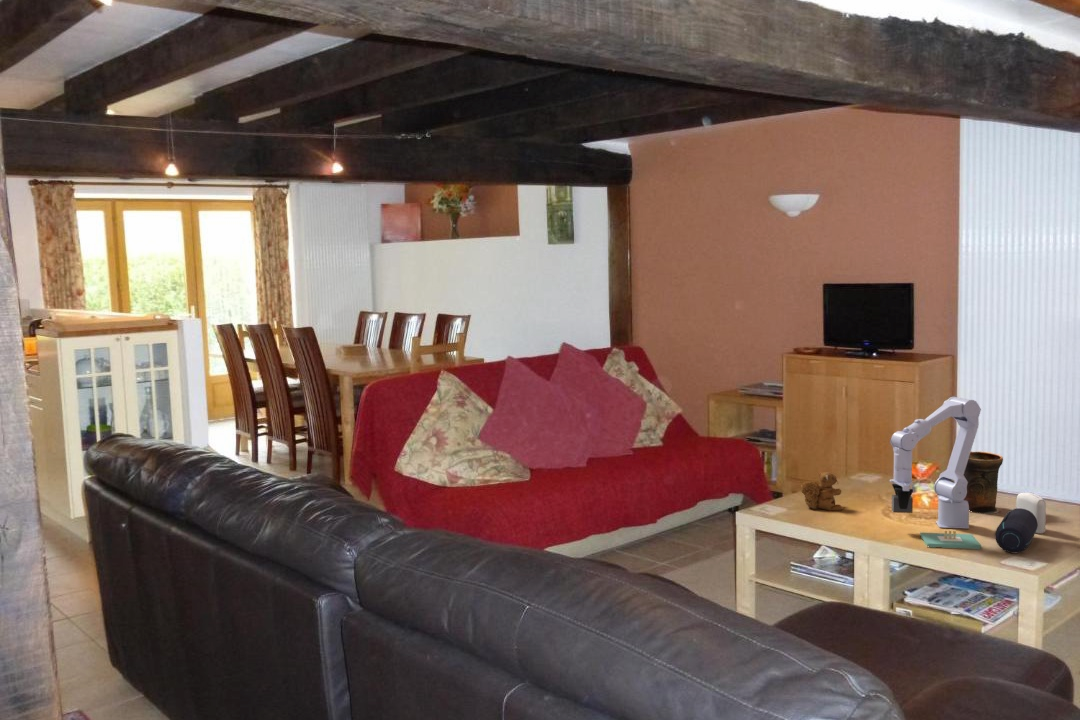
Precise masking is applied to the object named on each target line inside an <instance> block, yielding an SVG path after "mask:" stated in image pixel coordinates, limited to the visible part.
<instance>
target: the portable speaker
mask: <svg viewBox="0 0 1080 720" xmlns="http://www.w3.org/2000/svg"><path fill="white" fill-rule="evenodd" d="M1037 527H1038V523H1037V519H1036V517H1035V516H1034V514H1033V513H1031V512H1030V511H1028V510H1026V509H1021V508H1016V507H1015V508H1014V509H1011V510H1008V512H1006V514H1005V515H1004V517H1003V518H1002V520H1001V522H1000V523H999V525H998V526H997V527H996V530H995V532H994V537H995V538H994V539H995V543H996V544H997V545H998V547H999V548H1001V549H1002V550H1003V551H1005V552H1008V553H1009V554H1018V553H1019V554H1020V553H1022V552H1023V551H1025V550H1027V548H1028V547H1030V545H1031V542H1032V541H1033V538H1034V537H1035V534H1037V533H1036V530H1037Z"/></svg>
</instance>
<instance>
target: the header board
mask: <svg viewBox="0 0 1080 720" xmlns="http://www.w3.org/2000/svg"><path fill="white" fill-rule="evenodd" d="M956 532H957V531H955V530H954V531H953V533H952V530H949V531H947V530H945V531H944V532H943V533H942V532H938V533H937V532H919V536H921V537H920V538H921V540H922V539H923V540H924V541H923V540H922V541H923V543H924V542H925V543H924V544H925V546H926V545H927V546H929V547H928V548H936V547H942V548H943V549H962V550H963V549H968V550H970V549H971V550H982V544H981V543H980V542H979V541H978V540H977V538H976V537H975V536H974V535H973V534H971V533H956ZM927 546H926V547H927Z"/></svg>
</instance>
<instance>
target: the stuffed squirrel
mask: <svg viewBox="0 0 1080 720" xmlns="http://www.w3.org/2000/svg"><path fill="white" fill-rule="evenodd" d="M818 475H819V483H817V482H816V481H814V480H809V481H804V482H803V484H800V487H801V488H800V490H801V493H802V495H804V498H805V499H804V501H805V504H806V505H807V506H808V507H809V508H810V509H812V510H817V509H821V510H827V511H842V510H843V506H842V505H841V504H836V498H835V497H836V496H840V495H841V494H842V489H840V488H834V487H833V486H834V485H835V484H837V485H839V482H838V479H837V476H836V475H835V474H834V473H832V472H829V471H826V472H825V471H824V472H821V471H820V472H819V473H818Z"/></svg>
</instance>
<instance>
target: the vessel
mask: <svg viewBox="0 0 1080 720" xmlns="http://www.w3.org/2000/svg"><path fill="white" fill-rule="evenodd" d="M1003 462H1004V457H1003V456H1001V455H1000V454H997V453H992V452H988V451H971V452H970V455H969V459H968V462H967V465H966V468H965V472H964V477H965V478H966V480H967V482H968V484H967V495H966V497H965V498H964V500H966V501H968V504H969V510H970V511H972V512H971V513H973V514H978V515H979V514H982V515H984V514H987V515H988V514H989V515H993V514H996V513H999V512H1001V511H1002V510H1001V509H1000V508H996V506H997V505H996V504H997V497H998V496H997V495H998V481H999V480H998V478H999V471H1000V468H1001V466H1002V465H1003ZM970 511H969V512H970Z"/></svg>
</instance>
